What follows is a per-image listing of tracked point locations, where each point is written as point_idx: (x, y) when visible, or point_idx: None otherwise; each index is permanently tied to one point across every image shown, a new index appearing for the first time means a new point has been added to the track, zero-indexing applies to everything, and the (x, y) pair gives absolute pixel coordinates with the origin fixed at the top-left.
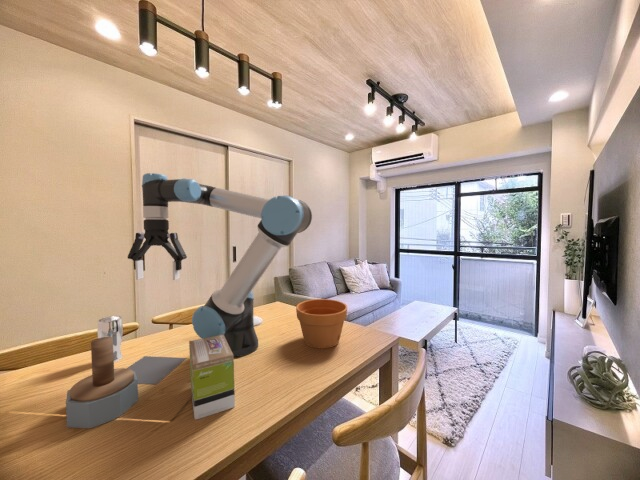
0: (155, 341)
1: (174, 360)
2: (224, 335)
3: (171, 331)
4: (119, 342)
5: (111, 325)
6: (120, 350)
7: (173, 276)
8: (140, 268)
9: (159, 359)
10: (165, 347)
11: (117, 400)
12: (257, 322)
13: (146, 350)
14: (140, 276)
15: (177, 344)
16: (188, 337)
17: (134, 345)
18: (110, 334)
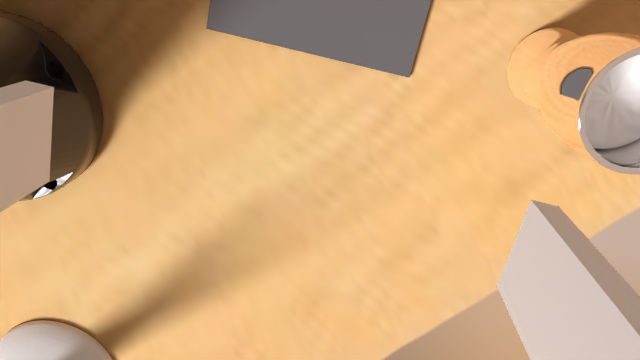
0: (425, 237)
1: (254, 11)
2: (2, 68)
3: (393, 334)
4: (534, 76)
5: (602, 52)
6: (523, 85)
7: (17, 95)
8: (560, 324)
9: (326, 31)
10: (353, 165)
11: None
12: (1, 347)
13: (429, 147)
14: (523, 254)
15: (310, 188)
16: (287, 255)
17: (507, 209)
18: (585, 40)
